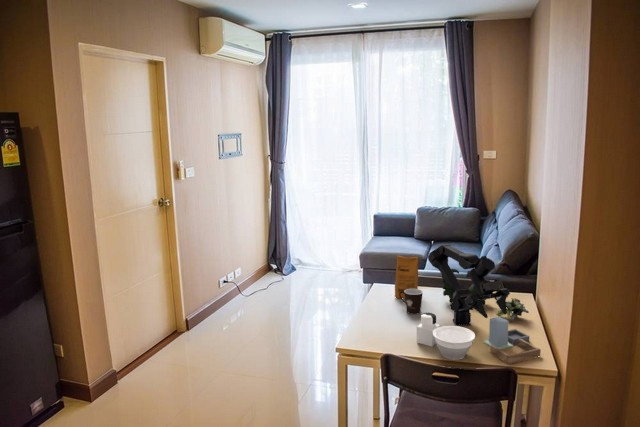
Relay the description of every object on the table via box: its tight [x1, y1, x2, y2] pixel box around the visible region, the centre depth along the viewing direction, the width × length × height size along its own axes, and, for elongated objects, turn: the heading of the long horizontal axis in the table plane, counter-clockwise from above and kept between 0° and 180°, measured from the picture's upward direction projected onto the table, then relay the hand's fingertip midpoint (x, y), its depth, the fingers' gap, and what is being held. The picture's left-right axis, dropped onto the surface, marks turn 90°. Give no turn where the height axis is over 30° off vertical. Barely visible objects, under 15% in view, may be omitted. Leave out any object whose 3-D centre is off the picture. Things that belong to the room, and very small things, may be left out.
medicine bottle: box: [416, 312, 441, 348], centre depth 202 cm, size 7×7×12 cm
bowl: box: [433, 325, 476, 361], centre depth 191 cm, size 16×16×8 cm
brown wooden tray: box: [489, 339, 542, 365], centre depth 189 cm, size 10×15×3 cm
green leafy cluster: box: [496, 297, 530, 323], centre depth 223 cm, size 11×11×12 cm
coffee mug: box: [399, 288, 424, 315], centre depth 237 cm, size 12×9×10 cm
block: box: [488, 316, 509, 347], centre depth 198 cm, size 5×5×10 cm
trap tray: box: [508, 328, 530, 346], centre depth 203 cm, size 8×8×2 cm
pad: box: [483, 339, 514, 350], centre depth 199 cm, size 8×8×1 cm
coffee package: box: [394, 255, 419, 300], centre depth 255 cm, size 10×12×22 cm
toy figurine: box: [441, 268, 487, 306], centre depth 242 cm, size 9×19×25 cm
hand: (496, 316), depth 198 cm, fingers open, 9 cm apart
